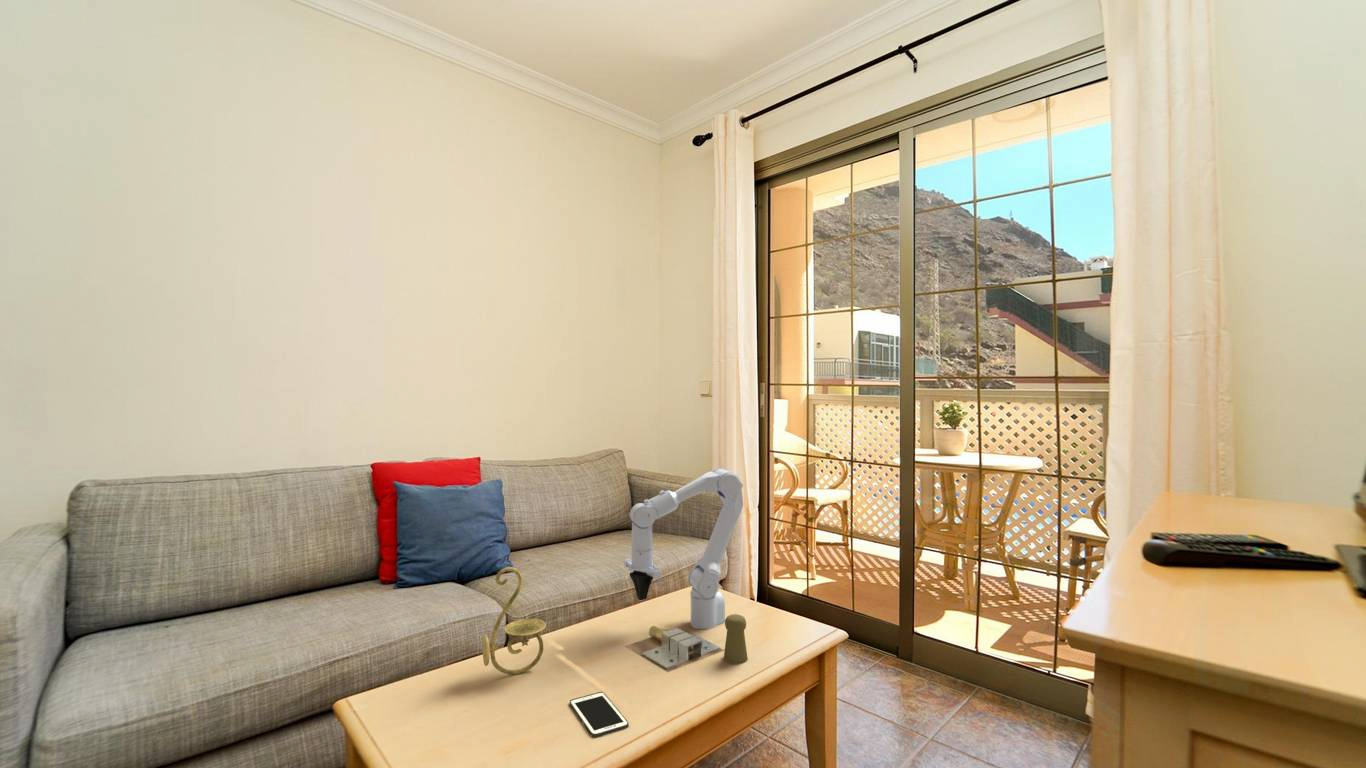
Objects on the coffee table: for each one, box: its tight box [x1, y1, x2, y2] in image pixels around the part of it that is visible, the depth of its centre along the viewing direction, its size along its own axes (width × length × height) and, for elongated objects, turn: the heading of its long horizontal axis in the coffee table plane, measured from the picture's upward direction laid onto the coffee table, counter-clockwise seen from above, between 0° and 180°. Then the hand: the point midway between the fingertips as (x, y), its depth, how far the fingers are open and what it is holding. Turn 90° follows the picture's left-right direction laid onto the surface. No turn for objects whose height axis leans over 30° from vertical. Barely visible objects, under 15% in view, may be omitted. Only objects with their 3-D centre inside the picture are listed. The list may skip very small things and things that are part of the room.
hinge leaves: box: [642, 627, 721, 669], centre depth 146 cm, size 17×10×4 cm, turn 129°
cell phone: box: [569, 691, 630, 739], centre depth 119 cm, size 8×15×1 cm, turn 29°
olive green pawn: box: [723, 613, 748, 665], centre depth 142 cm, size 6×6×11 cm
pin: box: [648, 625, 667, 642], centre depth 151 cm, size 10×3×3 cm, turn 39°
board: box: [624, 627, 725, 673], centre depth 148 cm, size 18×18×1 cm
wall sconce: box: [481, 566, 547, 676], centre depth 136 cm, size 14×10×25 cm
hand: (642, 598), depth 159 cm, fingers closed
